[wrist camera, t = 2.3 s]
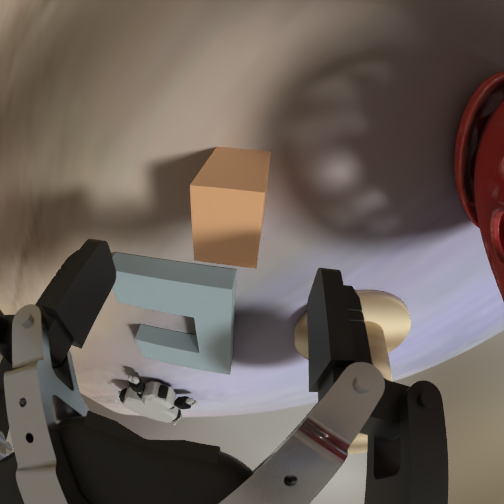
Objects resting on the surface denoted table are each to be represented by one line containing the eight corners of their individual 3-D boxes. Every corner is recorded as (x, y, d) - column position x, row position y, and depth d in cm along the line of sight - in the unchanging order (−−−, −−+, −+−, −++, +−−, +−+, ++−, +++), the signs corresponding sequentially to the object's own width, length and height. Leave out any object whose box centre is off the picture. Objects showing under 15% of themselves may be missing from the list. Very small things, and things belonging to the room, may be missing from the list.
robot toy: (131, 358, 36) (120, 386, 44) (122, 383, 32) (113, 405, 40) (205, 387, 39) (177, 409, 47) (200, 412, 35) (173, 428, 43)
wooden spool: (309, 283, 20) (312, 431, 12) (428, 295, 20) (462, 412, 11) (285, 354, 27) (278, 455, 19) (379, 359, 27) (389, 449, 19)
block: (217, 146, 14) (189, 185, 11) (271, 151, 14) (265, 192, 10) (215, 207, 17) (194, 260, 13) (264, 213, 17) (256, 268, 13)
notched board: (115, 252, 20) (104, 268, 19) (236, 269, 20) (232, 289, 19) (148, 343, 29) (143, 357, 28) (232, 359, 29) (229, 374, 28)
